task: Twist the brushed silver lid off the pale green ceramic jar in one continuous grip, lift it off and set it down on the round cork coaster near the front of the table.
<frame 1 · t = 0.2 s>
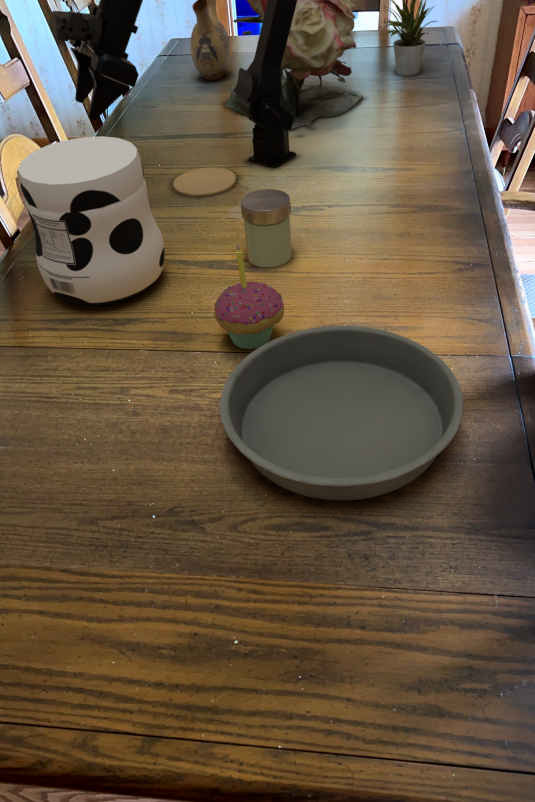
hand: (84, 110, 113), 15 cm above the table, tool tilted 30°, fingers open, 9 cm apart
jar: (269, 256, 104), on the table
rose bouquet: (301, 104, 152), on the table
lid: (265, 202, 99), point 8 cm above the table, screwed on, not yet turned
cake pan: (339, 427, 76), on the table
cupcake: (252, 339, 89), on the table
house plant: (405, 71, 164), on the table
ceramic vessel: (213, 78, 171), on the table
coaster: (204, 182, 125), on the table
milk container: (109, 283, 102), on the table
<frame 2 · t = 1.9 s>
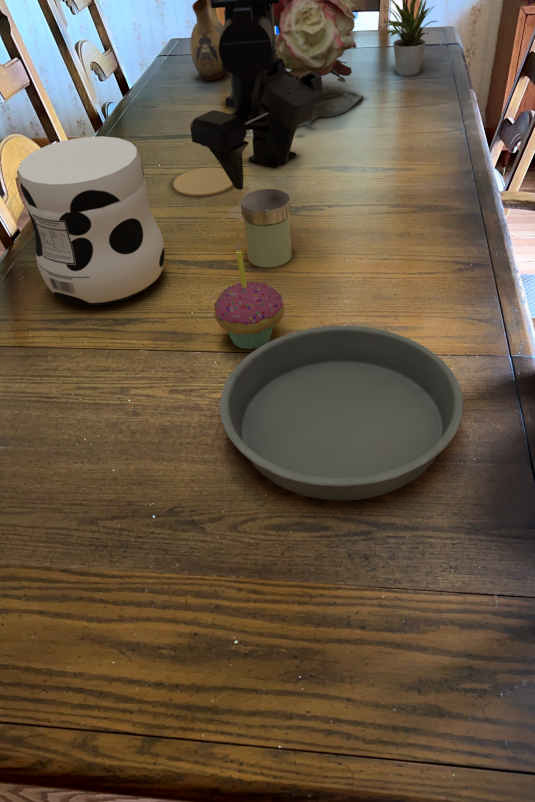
hand: (261, 176, 96), 12 cm above the table, tool pointing down, fingers open, 9 cm apart
nothing on the table moved.
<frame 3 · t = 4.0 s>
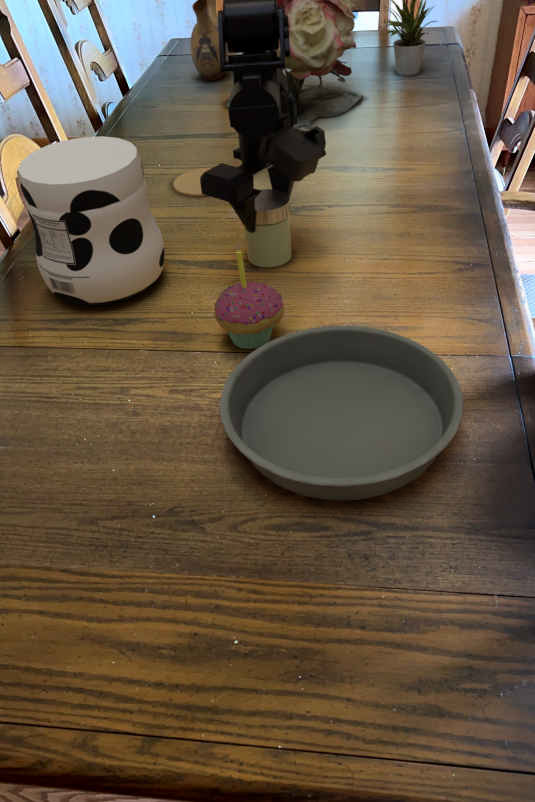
hand: (266, 222, 101), 5 cm above the table, tool pointing down, fingers closed on lid, 6 cm apart
lid: (265, 202, 99), point 8 cm above the table, screwed on, not yet turned, touching gripper
everything else where it was.
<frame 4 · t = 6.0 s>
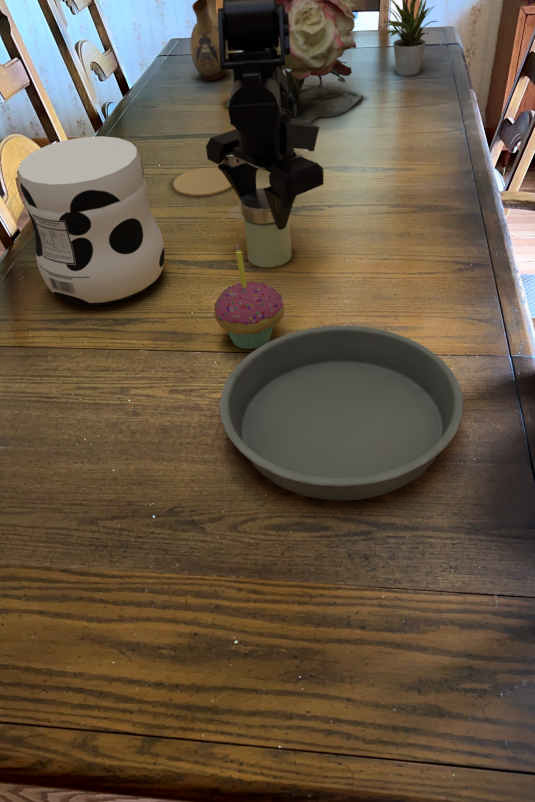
hand: (266, 220, 100), 6 cm above the table, tool pointing down, fingers closed on lid, 6 cm apart
lid: (265, 200, 99), point 9 cm above the table, turned 77° so far, risen 0.2 cm, still on its thread, touching gripper
everything else where it was.
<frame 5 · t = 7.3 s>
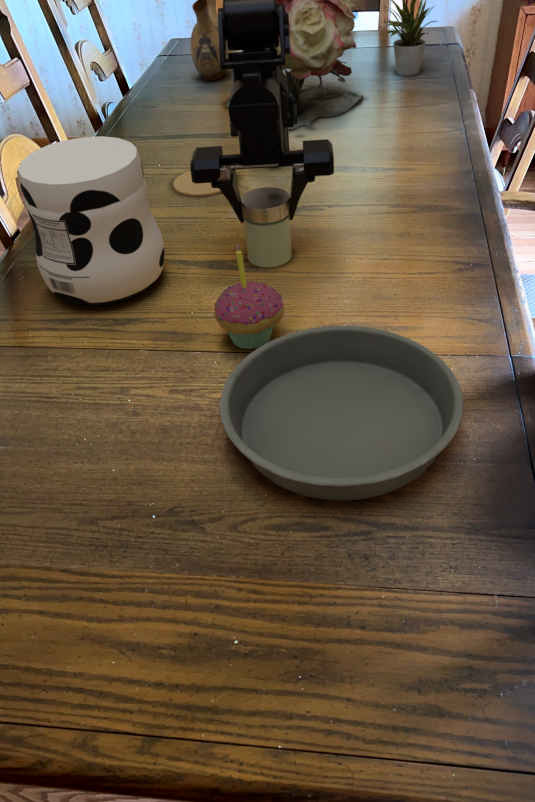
hand: (267, 220, 100), 6 cm above the table, tool pointing down, fingers closed on lid, 6 cm apart
lid: (265, 200, 99), point 9 cm above the table, off its thread, touching gripper
everything else where it was.
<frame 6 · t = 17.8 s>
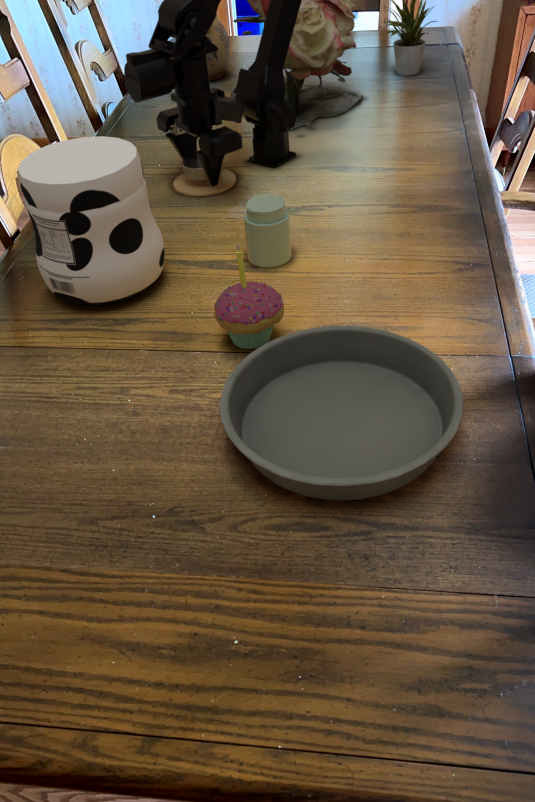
hand: (204, 179, 125), 1 cm above the table, tool pointing down, fingers closed on lid, 6 cm apart
lid: (202, 162, 123), point 4 cm above the table, off its thread, touching gripper
everything else where it was.
when the fingers open (1 cm above the table, at t = 25.6 s): lid drops 2 cm, resting on coaster.
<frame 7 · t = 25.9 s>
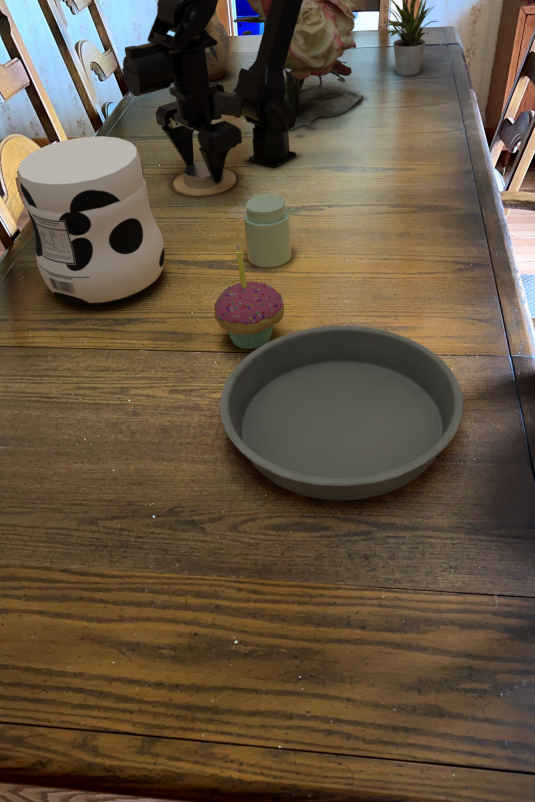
hand: (203, 174, 124), 1 cm above the table, tool pointing down, fingers open, 9 cm apart
lid: (203, 171, 124), point 2 cm above the table, off its thread, touching coaster
everything else where it was.
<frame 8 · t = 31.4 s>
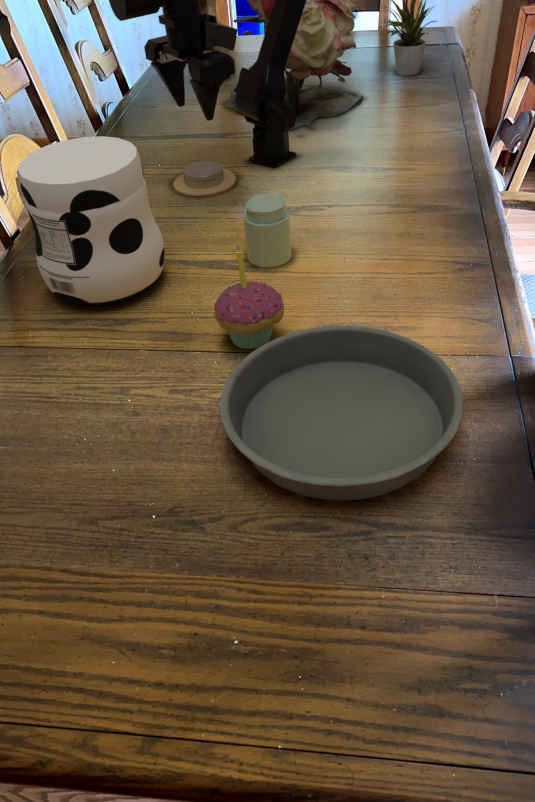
hand: (195, 112, 117), 12 cm above the table, tool pointing down, fingers open, 9 cm apart
nothing on the table moved.
at the end: the gripper is holding nothing; lid point 2.1 cm above the table; lid inside the target area on the coaster (0.0 cm from its centre), point 2.1 cm above the coaster's base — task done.
